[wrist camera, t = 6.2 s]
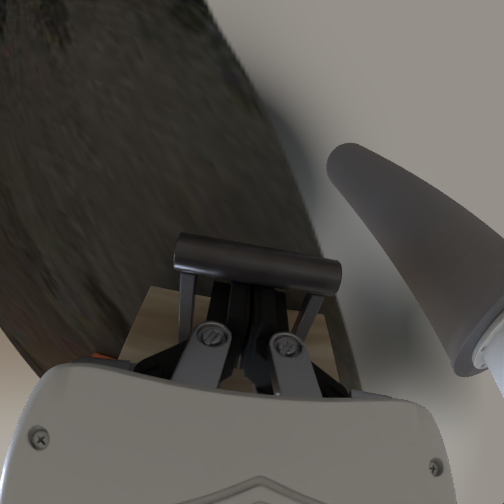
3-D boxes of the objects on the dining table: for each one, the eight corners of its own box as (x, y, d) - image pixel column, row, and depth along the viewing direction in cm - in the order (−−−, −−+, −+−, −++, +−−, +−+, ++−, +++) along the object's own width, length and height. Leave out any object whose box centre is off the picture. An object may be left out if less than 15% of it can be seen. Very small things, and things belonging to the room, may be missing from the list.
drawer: (152, 183, 14) (82, 252, 8) (362, 223, 14) (419, 309, 8) (159, 390, 24) (144, 452, 18) (273, 407, 25) (275, 470, 19)
